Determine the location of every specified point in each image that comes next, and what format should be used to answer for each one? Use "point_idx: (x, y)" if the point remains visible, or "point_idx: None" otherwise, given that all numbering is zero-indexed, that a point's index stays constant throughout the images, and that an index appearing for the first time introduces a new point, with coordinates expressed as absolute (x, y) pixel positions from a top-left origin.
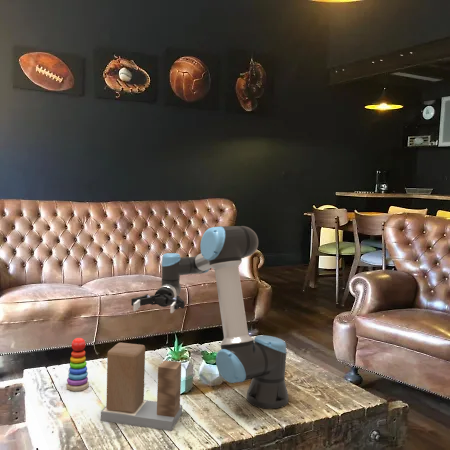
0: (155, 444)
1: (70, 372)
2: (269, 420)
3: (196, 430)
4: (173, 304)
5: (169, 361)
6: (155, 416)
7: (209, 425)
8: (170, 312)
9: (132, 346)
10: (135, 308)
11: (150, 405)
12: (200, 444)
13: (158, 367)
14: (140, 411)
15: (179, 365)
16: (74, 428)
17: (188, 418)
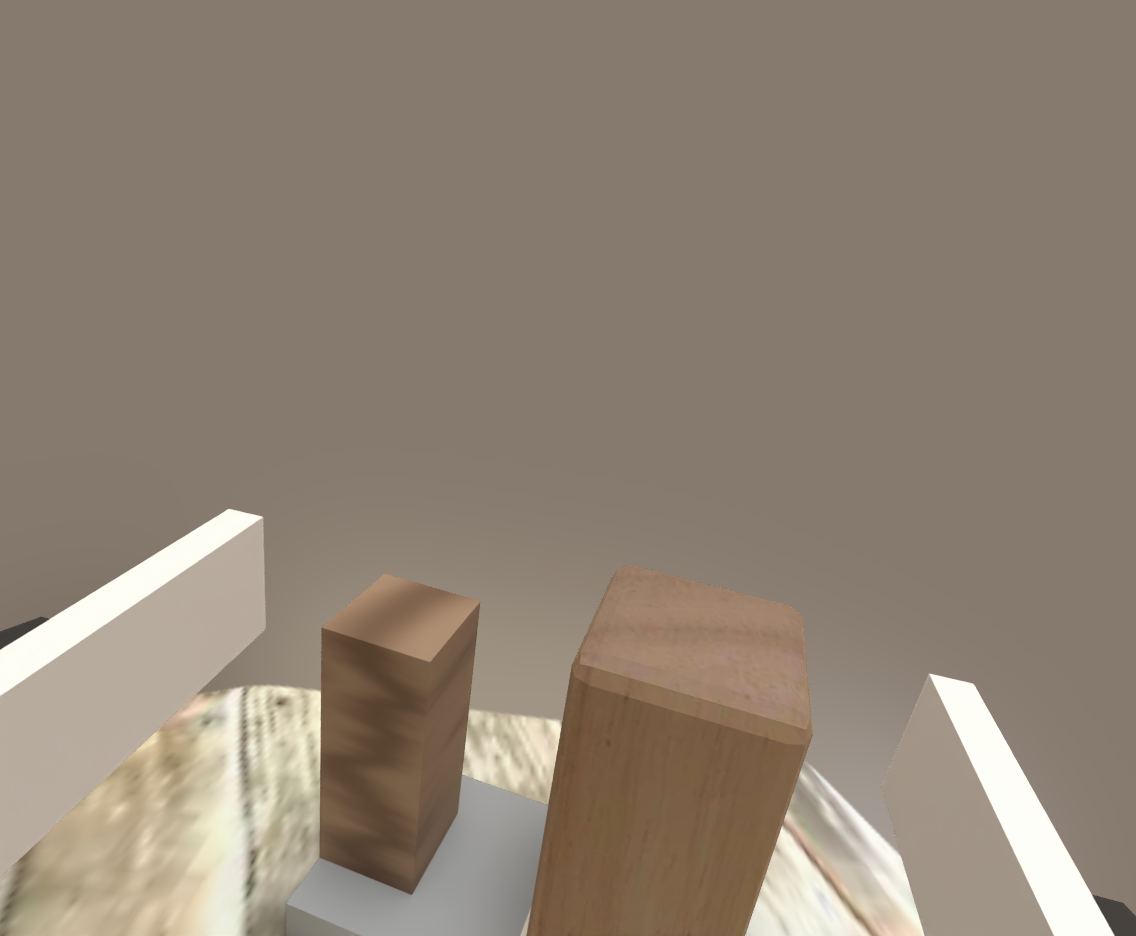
0: (474, 715)
1: None
2: None
3: (284, 775)
4: (154, 557)
5: (396, 645)
6: (465, 799)
7: (199, 805)
8: (262, 619)
9: (667, 635)
10: (899, 755)
11: (481, 917)
12: (312, 695)
13: (478, 603)
14: (538, 853)
15: (347, 607)
16: (814, 850)
17: (272, 881)
